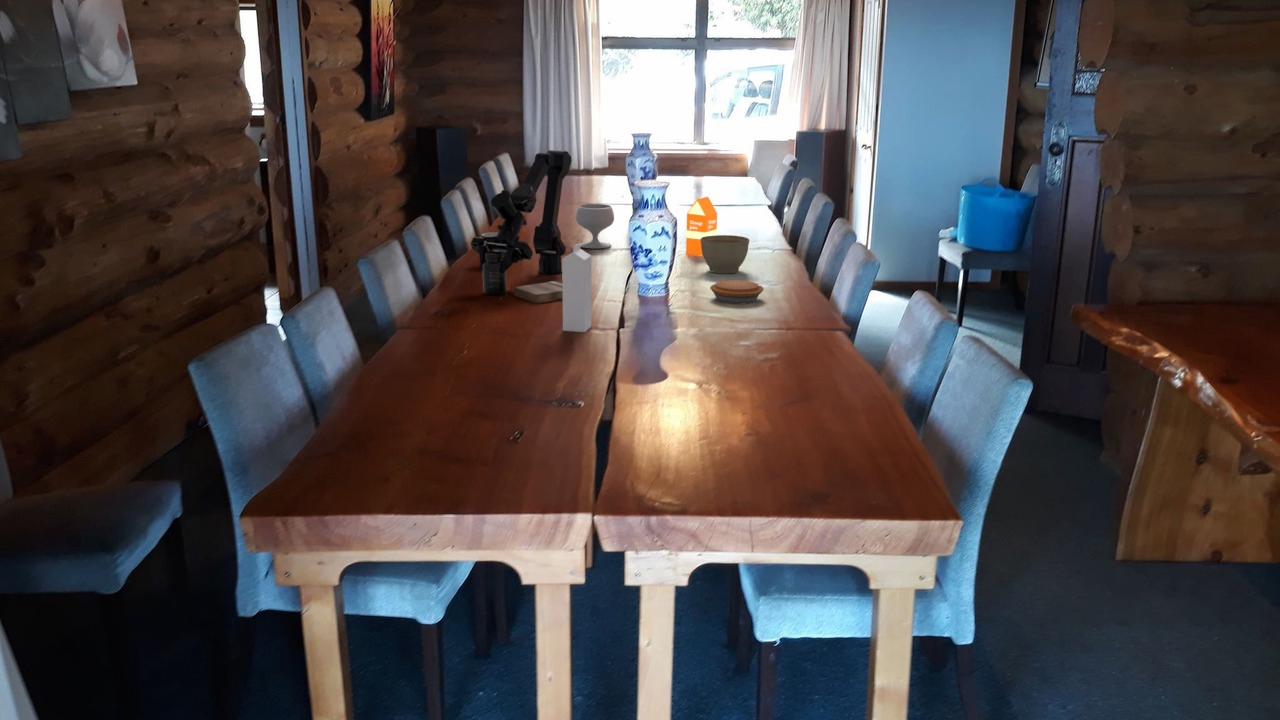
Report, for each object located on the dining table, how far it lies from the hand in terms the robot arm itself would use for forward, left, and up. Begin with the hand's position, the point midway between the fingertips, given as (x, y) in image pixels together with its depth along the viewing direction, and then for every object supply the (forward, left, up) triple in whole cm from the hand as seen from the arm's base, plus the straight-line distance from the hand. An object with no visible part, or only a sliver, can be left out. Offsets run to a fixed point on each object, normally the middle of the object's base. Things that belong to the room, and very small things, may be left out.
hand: (491, 271), depth 300 cm
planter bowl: (-79, +15, -7) cm, 81 cm away
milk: (+3, +47, -7) cm, 48 cm away
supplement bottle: (-1, -1, -7) cm, 7 cm away
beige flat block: (-11, +11, -7) cm, 17 cm away
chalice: (-71, -46, -7) cm, 85 cm away
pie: (-54, +47, -7) cm, 72 cm away
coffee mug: (-23, -40, -7) cm, 46 cm away
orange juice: (-94, -13, -7) cm, 95 cm away
